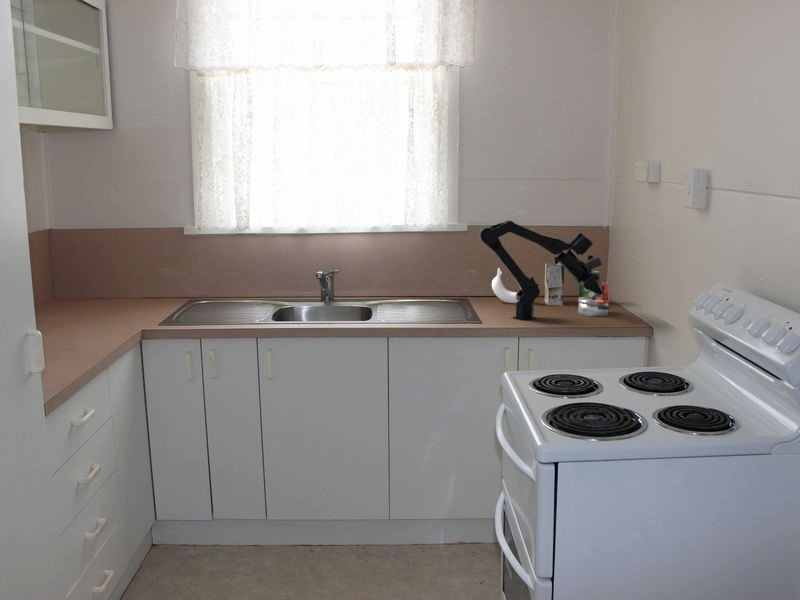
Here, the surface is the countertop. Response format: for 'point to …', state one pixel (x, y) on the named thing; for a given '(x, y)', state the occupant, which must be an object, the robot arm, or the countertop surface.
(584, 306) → the pot
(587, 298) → the lid
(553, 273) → the coffee box
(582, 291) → the coffee box
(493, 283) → the banana
